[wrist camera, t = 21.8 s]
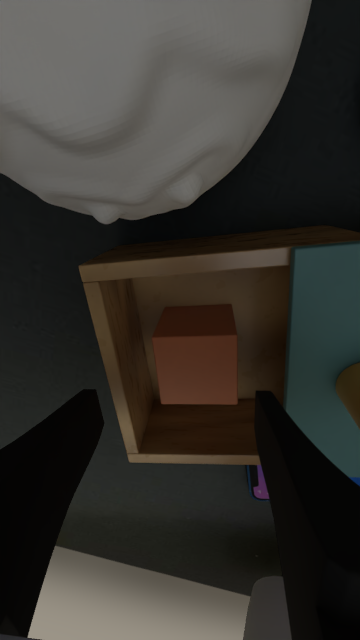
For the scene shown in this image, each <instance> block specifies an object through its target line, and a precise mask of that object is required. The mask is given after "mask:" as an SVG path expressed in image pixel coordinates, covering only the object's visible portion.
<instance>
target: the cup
mask: <svg viewBox="0 0 360 640" xmlns="http://www.w3.org/2000/svg"><path fill="white" fill-rule="evenodd" d="M243 640H292V639H291V631H290V624H289V616H288V609H287V602H286V595H285V588H284V581H283V577H281V576H269V577H264V578H261V579H259V580H257V581H256V582H255V584H254V585H253V590H252V594H251V598H250V602H249V606H248V612H247V618H246V624H245V631H244V637H243Z"/></svg>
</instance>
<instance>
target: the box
mask: <svg viewBox="0 0 360 640" xmlns="http://www.w3.org/2000/svg"><path fill="white" fill-rule="evenodd" d="M350 241H360V233H359V232H354V231H350V230H346V229H341V228H337V227H333V226H328V225H320V226H310V227H300V228H290V229H280V230H270V231H260V232H250V233H240V234H230V235H220V236H210V237H200V238H190V239H180V240H170V241H160V242H150V243H140V244H130V245H120V246H117V247H115V248H113V249H111V250H109V251H107V252H105V253H103V254H101V255H99V256H97V257H95V258H93V259H91V260H89V261H87V262H85V263H83V264H81V265H79V271H80V275H81V279H82V282H84V283H83V286H84V290H85V294H86V297H87V301H88V305H89V309H90V313H91V317H92V321H93V324H94V328H95V332H96V336H97V340H98V344H99V348H100V351H101V355H102V359H103V363H104V367H105V371H106V374H107V378H108V382H109V386H110V390H111V394H112V398H113V401H114V405H115V409H116V413H117V417H118V421H119V425H120V428H121V432H122V436H123V440H124V444H125V448H126V452H127V456H128V460H129V462H134V463H186V464H238V465H261V463H260V459H259V455H258V451H257V445H256V437H255V430H254V418H255V394H256V391H271V392H272V393H273V394H274V395H275V397H276V398H277V400H278V401H279V403H280V404H281V405H282V407H283V398H284V378H285V359H286V339H287V320H288V300H289V281H290V261H291V248H292V247H295V246H306V245H317V244H328V243H339V242H350ZM225 304H231V305H232V307H233V313H234V318H235V324H236V329H237V334H238V404H237V405H226V404H161V401H160V394H159V387H158V380H157V373H156V366H155V359H154V352H153V345H152V335H153V333H154V331H155V329H156V326H157V324H158V322H159V319H160V317H161V315H162V313H163V310H164V308H165V307H177V306H201V305H225Z"/></svg>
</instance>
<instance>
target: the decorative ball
mask: <svg viewBox="0 0 360 640" xmlns="http://www.w3.org/2000/svg"><path fill="white" fill-rule="evenodd" d="M311 1H312V0H0V173H2V174H4V175H6V176H8V177H9V178H11V179H12V180H14V181H15V182H17V183H18V184H20V185H21V186H23V187H24V188H26V189H28V190H29V191H31V192H33V193H34V194H36V195H37V196H38V197H40V198H41V199H42V200H44V201H45V202H47V203H49V204H52V205H56V206H60V207H64V208H67V209H70V210H73V211H76V212H80V213H83V214H88V215H93V217H94V218H95V219H96V220H97V221H99V222H100V223H103V224H110V223H112V222H114V221H116V220H117V219H118V218H123V219H128V220H138V219H142V218H145V217H148V216H151V215H156V214H161V213H165V212H168V211H171V210H174V209H181V208H185V207H187V206H189V205H191V204H192V203H193V202H194V201H195V200H196V199H197V198H198V197H199V196H200V195H202V194H203V193H204V192H206V191H207V190H208V189H210V188H211V187H212V186H214V185H215V184H216V183H218V182H219V181H220V180H221V179H222V178H224V177H225V176H226V175H227V174H228V173H229V172H230V171H231V170H232V169H233V168H234V167H235V166H236V165H237V164H238V163H239V162H240V161H241V160H242V159H243V158H244V156H245V155H246V154H247V153H248V152H249V150H250V149H251V148H252V146H253V145H254V144H255V142H256V141H257V139H258V138H259V136H260V135H261V133H262V132H263V130H264V129H265V127H266V125H267V124H268V122H269V120H270V119H271V117H272V115H273V113H274V111H275V109H276V108H277V106H278V104H279V102H280V99H281V97H282V95H283V93H284V91H285V88H286V86H287V83H288V81H289V78H290V75H291V73H292V70H293V67H294V64H295V60H296V57H297V54H298V50H299V47H300V44H301V41H302V37H303V34H304V30H305V26H306V22H307V18H308V14H309V10H310V5H311Z"/></svg>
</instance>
